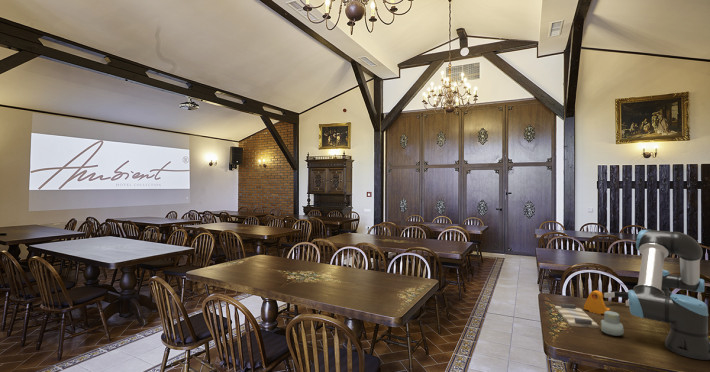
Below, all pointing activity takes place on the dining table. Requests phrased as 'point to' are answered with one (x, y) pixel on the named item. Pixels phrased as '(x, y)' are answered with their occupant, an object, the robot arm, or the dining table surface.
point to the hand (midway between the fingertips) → (615, 299)
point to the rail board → (575, 316)
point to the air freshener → (611, 324)
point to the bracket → (595, 303)
